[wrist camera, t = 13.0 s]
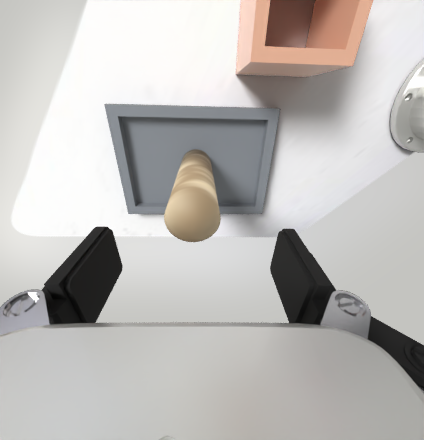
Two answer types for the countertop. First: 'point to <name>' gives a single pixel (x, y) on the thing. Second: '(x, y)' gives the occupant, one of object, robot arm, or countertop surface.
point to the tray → (189, 140)
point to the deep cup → (316, 42)
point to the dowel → (193, 200)
